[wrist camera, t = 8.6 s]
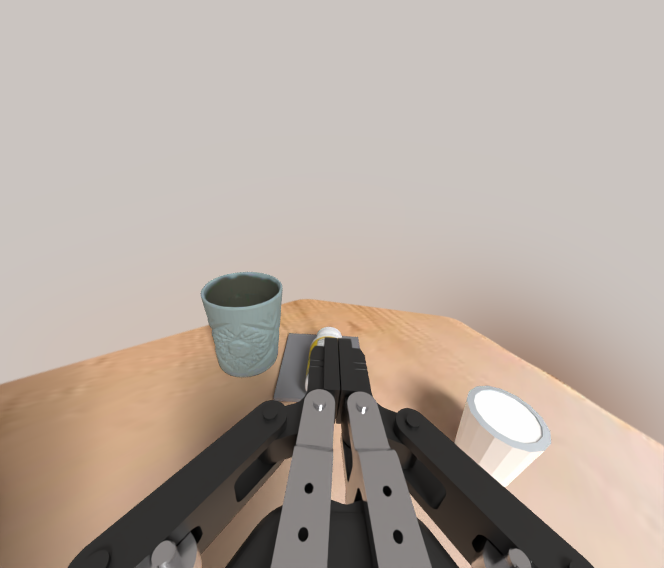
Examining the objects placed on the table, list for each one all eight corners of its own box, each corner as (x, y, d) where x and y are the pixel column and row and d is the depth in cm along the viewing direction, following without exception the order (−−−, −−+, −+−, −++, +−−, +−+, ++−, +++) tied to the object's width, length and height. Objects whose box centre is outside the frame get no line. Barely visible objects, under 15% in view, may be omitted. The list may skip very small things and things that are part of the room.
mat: (368, 404, 31) (368, 401, 31) (273, 400, 30) (273, 397, 30) (357, 339, 43) (357, 337, 42) (289, 336, 42) (289, 333, 42)
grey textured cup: (258, 328, 43) (253, 266, 38) (297, 356, 38) (298, 287, 33) (200, 357, 36) (185, 285, 31) (239, 397, 31) (228, 317, 25)
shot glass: (446, 471, 25) (468, 427, 22) (448, 416, 30) (466, 375, 27) (526, 511, 22) (564, 467, 19) (513, 443, 28) (540, 401, 25)
